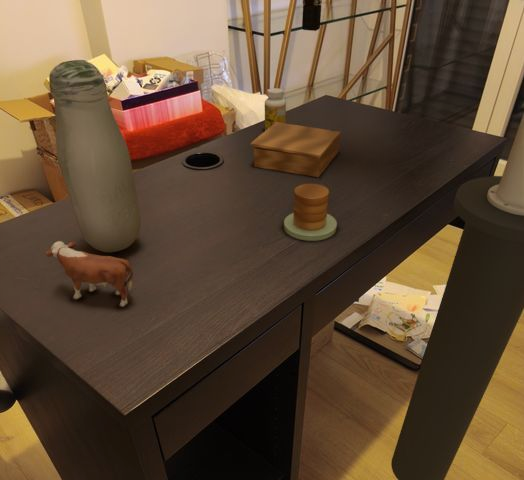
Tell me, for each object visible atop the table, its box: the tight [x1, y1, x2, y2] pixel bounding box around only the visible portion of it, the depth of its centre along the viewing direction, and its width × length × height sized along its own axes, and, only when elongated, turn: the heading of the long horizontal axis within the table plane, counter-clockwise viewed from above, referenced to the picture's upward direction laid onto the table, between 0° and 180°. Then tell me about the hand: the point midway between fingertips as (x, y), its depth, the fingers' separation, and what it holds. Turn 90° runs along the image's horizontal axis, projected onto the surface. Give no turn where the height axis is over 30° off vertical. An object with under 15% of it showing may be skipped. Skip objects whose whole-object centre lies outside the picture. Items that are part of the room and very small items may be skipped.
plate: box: [283, 212, 338, 242], centre depth 87 cm, size 10×10×1 cm
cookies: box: [292, 183, 330, 230], centre depth 84 cm, size 6×6×6 cm
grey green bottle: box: [48, 59, 142, 253], centre depth 73 cm, size 10×10×28 cm
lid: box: [249, 122, 341, 158], centre depth 107 cm, size 16×15×1 cm
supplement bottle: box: [264, 87, 287, 132], centre depth 121 cm, size 5×5×10 cm
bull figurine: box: [45, 240, 134, 308], centre depth 70 cm, size 4×13×8 cm, turn 71°
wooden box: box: [253, 134, 341, 178], centre depth 109 cm, size 15×15×4 cm
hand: (310, 29), depth 94 cm, fingers closed
